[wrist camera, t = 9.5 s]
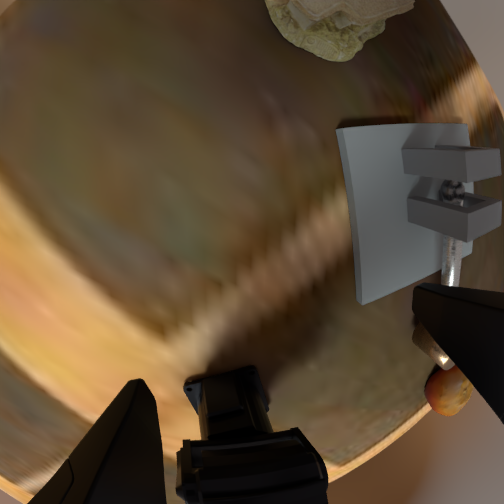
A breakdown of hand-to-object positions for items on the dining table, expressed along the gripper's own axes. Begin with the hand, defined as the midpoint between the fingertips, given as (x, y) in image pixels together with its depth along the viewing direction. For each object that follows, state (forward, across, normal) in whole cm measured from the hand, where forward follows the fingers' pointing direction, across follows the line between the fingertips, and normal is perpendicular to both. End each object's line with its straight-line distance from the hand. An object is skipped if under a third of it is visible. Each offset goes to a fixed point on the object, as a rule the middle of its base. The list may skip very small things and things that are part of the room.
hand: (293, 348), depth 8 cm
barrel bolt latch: (+12, -17, +1) cm, 21 cm away
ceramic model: (+12, -11, -19) cm, 25 cm away
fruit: (+12, -24, +28) cm, 39 cm away
